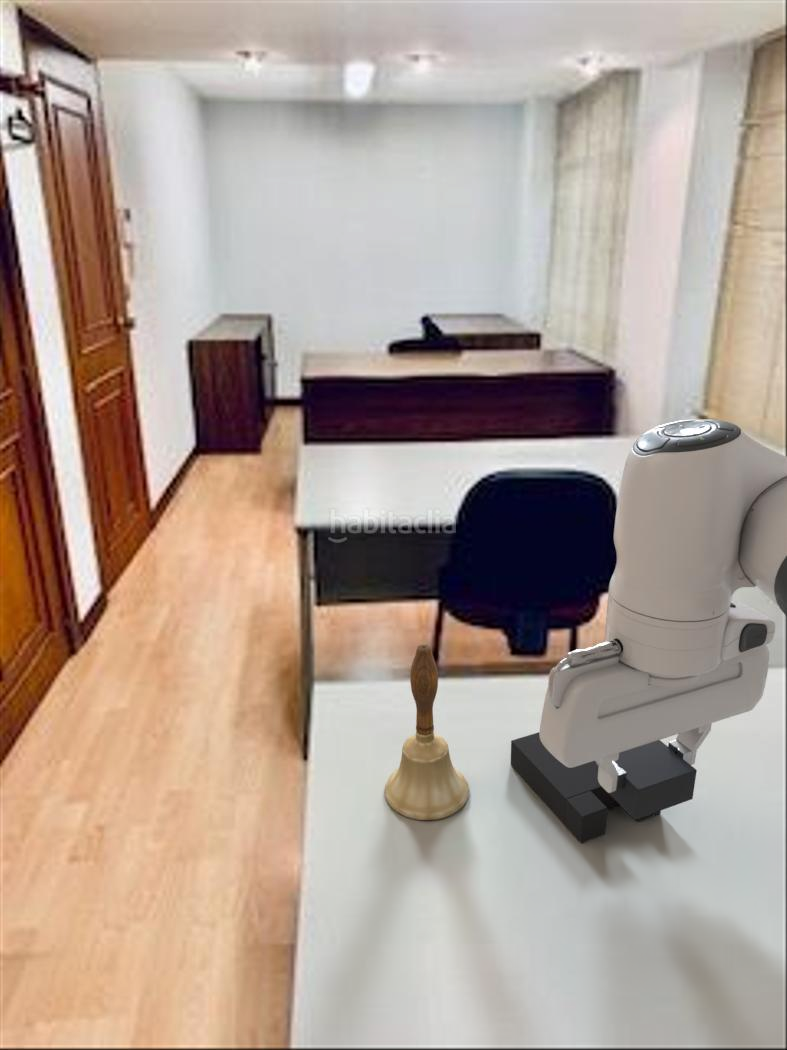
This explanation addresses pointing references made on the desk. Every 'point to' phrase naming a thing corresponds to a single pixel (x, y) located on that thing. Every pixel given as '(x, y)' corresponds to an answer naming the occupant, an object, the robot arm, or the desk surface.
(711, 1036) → the desk surface
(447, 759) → the hand bell
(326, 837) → the desk surface
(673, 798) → the graphite pad
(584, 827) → the black pad
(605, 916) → the desk surface
